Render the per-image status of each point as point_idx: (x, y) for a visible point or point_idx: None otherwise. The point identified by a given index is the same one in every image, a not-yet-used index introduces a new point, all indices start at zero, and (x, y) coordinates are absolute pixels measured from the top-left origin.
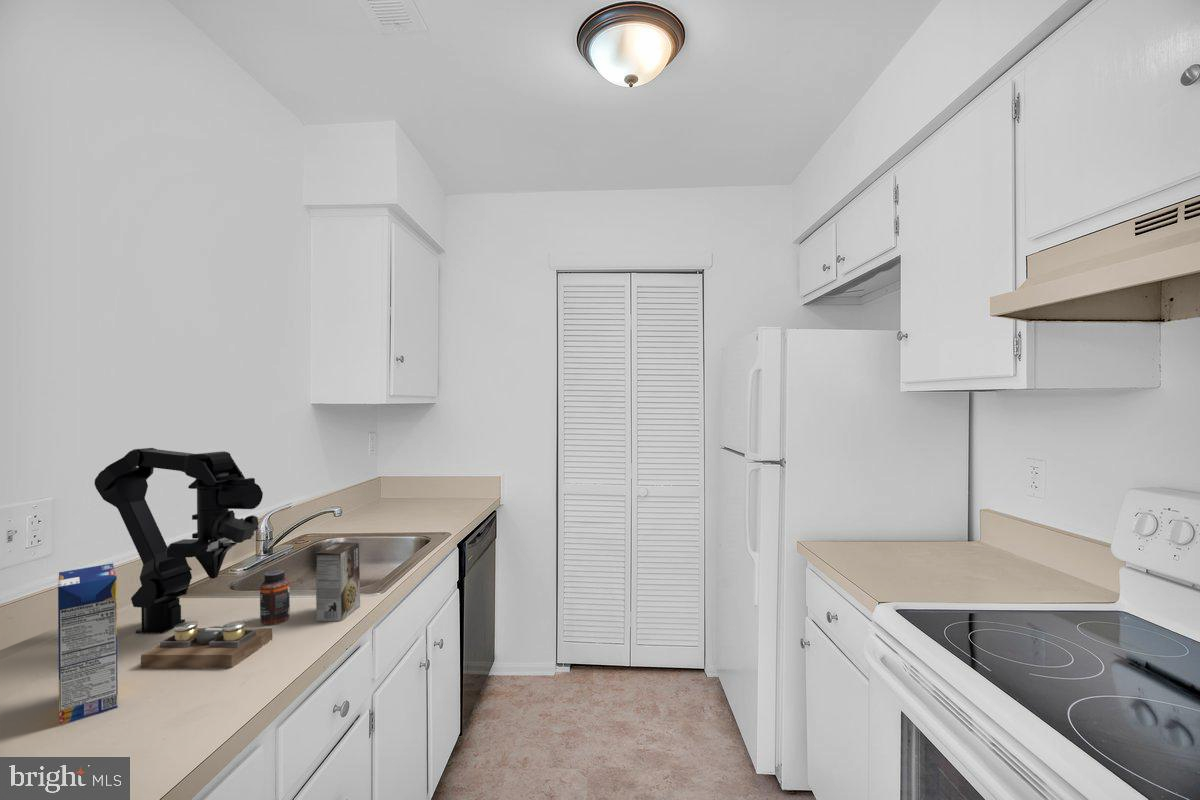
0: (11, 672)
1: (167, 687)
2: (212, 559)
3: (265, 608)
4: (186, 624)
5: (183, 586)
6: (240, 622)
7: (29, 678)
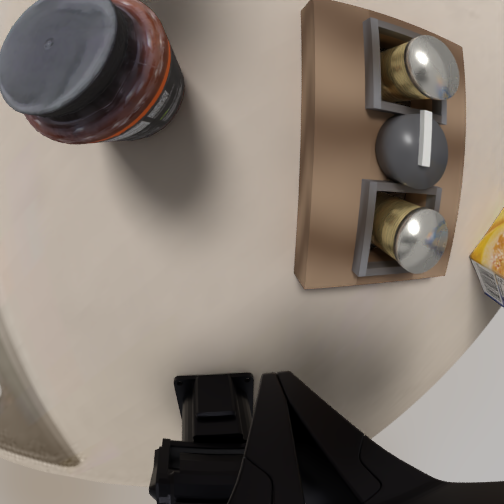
0: (378, 432)
1: (491, 142)
2: (414, 471)
3: (179, 81)
4: (422, 243)
5: (202, 458)
6: (421, 51)
7: (407, 398)
